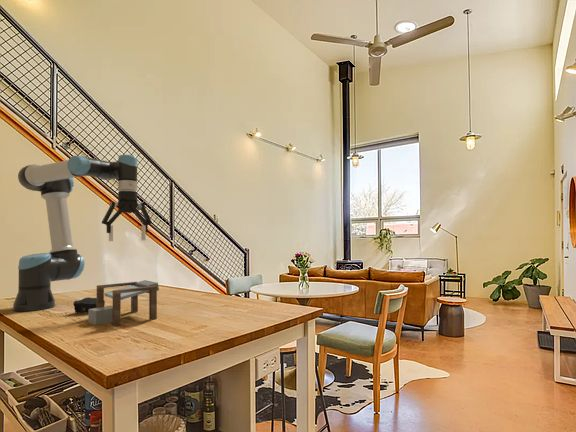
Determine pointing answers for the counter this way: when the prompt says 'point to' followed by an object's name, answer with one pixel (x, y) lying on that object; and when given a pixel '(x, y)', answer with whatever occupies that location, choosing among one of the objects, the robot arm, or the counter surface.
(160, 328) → the counter surface
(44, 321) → the counter surface
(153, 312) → the trapdoor frame
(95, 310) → the grey rectangular block
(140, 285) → the trapdoor
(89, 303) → the rock
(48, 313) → the counter surface
